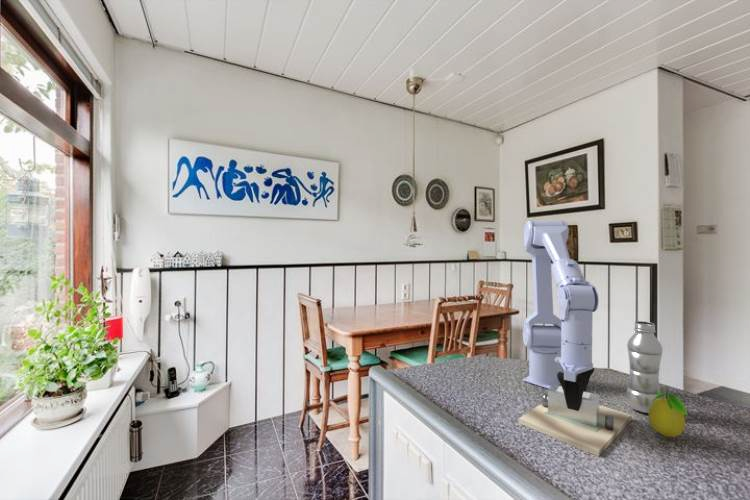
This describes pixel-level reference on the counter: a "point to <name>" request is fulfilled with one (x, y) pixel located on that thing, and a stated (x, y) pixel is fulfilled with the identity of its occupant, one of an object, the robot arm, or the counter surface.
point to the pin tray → (578, 427)
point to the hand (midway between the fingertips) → (575, 404)
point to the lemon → (667, 415)
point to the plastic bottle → (643, 367)
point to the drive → (584, 415)
